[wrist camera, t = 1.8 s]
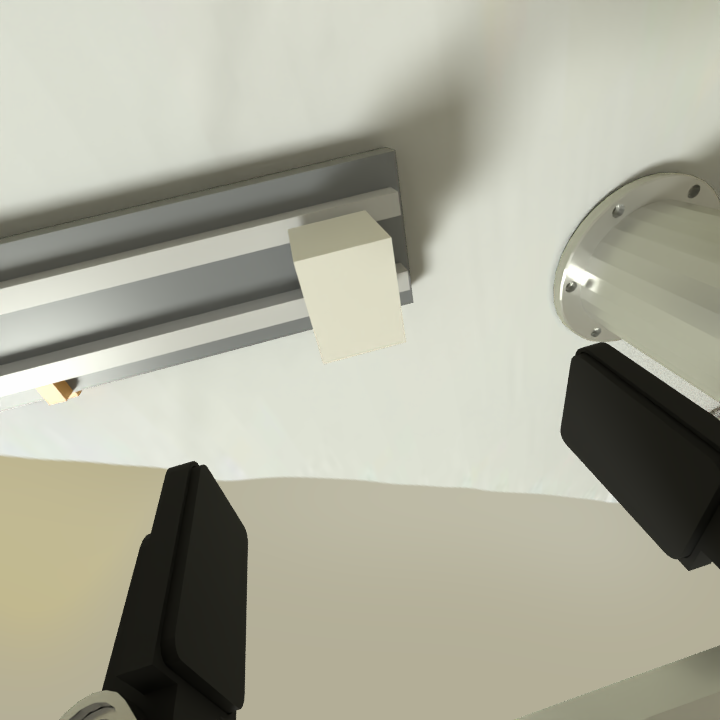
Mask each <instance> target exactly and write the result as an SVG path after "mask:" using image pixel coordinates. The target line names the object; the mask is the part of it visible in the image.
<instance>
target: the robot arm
mask: <svg viewBox="0 0 720 720" xmlns="http://www.w3.org/2000/svg"><path fill="white" fill-rule="evenodd" d="M553 294H554V304H555V308H556V311H557V314H558V316H559V318H560V319H561V321H562V323H563V324H564V325H565V326H567V327H568V328H569V329H570V330H571V331H572V332H574V333H575V334H577V335H578V336H580V337H581V338H584V339H587V340H589V341H596V342H600V343H597V344H593V345H590V346H586V347H583V348H580V349H578V350H577V352H576V355H575V356H573V358H572V360H571V365H570V371H569V378H568V384H567V391H566V397H565V404H564V410H563V417H562V423H561V436H562V439H563V440H564V442H565V443H566V445H567V446H568V447H569V448H570V449H571V450H572V451H573V452H574V453H575V455H576V456H577V457H578V458H579V459H580V460H581V461H582V462H583V463H584V464H585V466H586V467H587V468H588V469H589V470H590V471H591V472H592V473H593V474H594V475H595V477H596V478H597V479H598V480H599V481H600V482H601V483H602V484H603V485H604V486H605V488H606V489H607V490H608V491H609V492H610V493H611V494H612V495H613V496H614V497H615V499H616V500H617V501H618V502H619V503H620V504H621V505H622V506H623V507H624V508H625V510H626V511H627V512H628V513H629V514H630V515H631V516H632V517H633V518H634V519H635V521H636V522H638V524H639V525H640V526H641V527H642V528H643V529H644V530H645V531H646V533H647V534H648V535H649V536H650V537H651V538H652V539H653V540H654V541H655V542H656V544H657V545H658V546H659V547H660V548H661V549H662V550H663V551H664V552H665V553H666V554H667V555H668V556H670V557H671V558H673V559H678V560H679V561H680V562H681V563H682V564H683V565H684V567H685V568H686V569H687V570H688V571H690V570H693V569H696V568H699V567H702V566H705V565H708V564H711V562H713V563H714V564H715V565H716V566H717V567H718V568H719V569H720V420H719V419H717V418H716V417H714V416H713V415H711V414H710V413H709V412H707V411H706V410H704V409H703V408H701V407H700V406H698V405H697V404H695V403H694V402H692V401H691V400H689V399H688V398H687V397H685V396H684V395H682V394H681V393H679V392H678V391H676V390H675V389H673V388H672V387H670V386H669V385H667V384H666V383H665V382H663V381H662V380H660V379H659V378H657V377H656V376H654V375H653V374H651V373H650V372H648V371H647V370H645V369H644V368H643V367H641V366H640V365H638V364H637V363H635V362H634V361H632V360H631V359H629V358H628V357H626V356H625V355H623V354H622V353H621V352H619V351H618V350H616V349H615V348H613V347H612V346H610V345H609V344H607V343H604V342H610V341H617V340H621V339H623V340H624V341H626V342H627V343H629V344H630V345H632V346H633V347H635V348H636V349H638V350H639V351H641V352H642V353H644V354H646V355H647V356H649V357H650V358H652V359H653V360H655V361H656V362H658V363H659V364H661V365H662V366H664V367H665V368H667V369H668V370H670V371H672V372H673V373H675V374H676V375H678V376H679V377H681V378H682V379H684V380H685V381H687V382H688V383H690V384H691V385H693V386H694V387H696V388H698V389H699V390H701V391H702V392H704V393H705V394H707V395H708V396H710V397H711V398H713V399H714V400H716V401H717V402H719V403H720V201H719V198H718V197H717V195H716V193H715V191H714V189H713V188H712V187H711V186H710V185H708V184H707V183H706V182H705V181H704V180H702V179H699V178H697V177H695V176H692V175H686V174H680V173H657V174H653V175H649V176H645V177H642V178H640V179H638V180H635V181H633V182H631V183H629V184H627V185H625V186H623V187H622V188H620V189H619V190H617V191H616V192H614V193H613V194H611V195H610V196H608V197H607V198H606V199H605V200H604V201H603V202H601V203H600V204H599V205H598V206H597V207H596V208H595V209H593V211H592V212H591V213H590V214H589V215H588V216H587V217H586V219H585V220H584V221H583V222H582V223H581V224H580V226H579V227H578V228H577V230H576V231H575V233H574V234H573V236H572V237H571V239H570V240H569V242H568V244H567V246H566V248H565V250H564V252H563V254H562V256H561V258H560V261H559V265H558V268H557V271H556V274H555V280H554V287H553ZM247 557H248V538H247V533H246V530H245V527H244V526H243V524H242V522H241V521H240V519H239V518H238V516H237V514H236V513H235V511H234V509H233V508H232V506H231V505H230V503H229V501H228V500H227V498H226V497H225V495H224V493H223V492H222V490H221V488H220V487H219V485H218V484H217V482H216V480H215V479H214V477H213V475H212V474H211V472H210V471H209V469H208V467H207V466H206V465H200V466H199V465H198V463H197V462H195V461H192V462H189V463H185V464H182V465H178V466H175V467H171V468H169V469H168V470H167V472H166V475H165V480H164V483H163V487H162V491H161V495H160V499H159V503H158V507H157V511H156V515H155V519H154V523H153V527H152V531H151V534H148V535H147V536H146V537H145V538H144V540H143V541H142V544H141V547H140V549H139V553H138V557H137V561H136V564H135V568H134V572H133V576H132V579H131V583H130V587H129V591H128V594H127V598H126V602H125V606H124V609H123V614H122V617H121V621H120V625H119V628H118V632H117V636H116V640H115V643H114V647H113V651H112V655H111V658H110V662H109V666H108V670H107V674H106V677H105V681H104V685H103V689H102V691H101V692H96V693H92V694H91V695H89V696H87V697H85V698H84V699H82V700H80V701H78V702H77V703H76V704H75V705H74V706H73V707H72V708H71V709H69V710H68V711H67V712H66V713H65V714H64V715H63V716H62V717H61V718H60V720H236V710H239V709H241V708H242V706H243V703H244V694H245V651H246V649H245V648H246V605H247V603H246V602H247ZM515 720H720V646H717V647H714V648H712V649H709V650H706V651H703V652H700V653H698V654H695V655H692V656H689V657H687V658H684V659H681V660H678V661H675V662H672V663H670V664H667V665H664V666H661V667H659V668H656V669H653V670H650V671H648V672H645V673H642V674H639V675H636V676H633V677H631V678H628V679H625V680H622V681H620V682H617V683H614V684H611V685H609V686H606V687H603V688H600V689H598V690H595V691H592V692H590V693H587V694H584V695H581V696H578V697H576V698H573V699H570V700H567V701H564V702H562V703H559V704H556V705H553V706H551V707H548V708H545V709H543V710H540V711H537V712H534V713H532V714H529V715H526V716H523V717H521V718H518V719H515Z"/></svg>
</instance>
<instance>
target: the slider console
mask: <svg viewBox="0 0 720 720" xmlns="http://www.w3.org/2000/svg"><path fill="white" fill-rule="evenodd" d="M364 210H366V212H367V213H368V214H369V215H370V216H371V217H372V218H373V219H374V220H375V221H376V222H377V223H378V224H379V225H380V226H381V227H382V228H383V229H384V230H385V231H386V232H387V233H388V234H389V236H390V237H391V238H392V245H393V252H394V260H395V267H396V274H397V281H398V288H399V295H400V303H401V306H402V305H406V304H410V303H413V296H412V288H411V279H410V271H409V262H408V254H407V246H406V237H405V229H404V220H403V212H402V204H401V195H400V187H399V179H398V170H397V162H396V153H395V150H392V149H389V148H386V147H384V148H380V149H376V150H372V151H368V152H363V153H359V154H355V155H351V156H346V157H342V158H338V159H334V160H330V161H325V162H321V163H317V164H313V165H309V166H304V167H300V168H296V169H292V170H287V171H283V172H279V173H275V174H271V175H266V176H262V177H258V178H254V179H250V180H245V181H241V182H237V183H233V184H228V185H224V186H220V187H216V188H212V189H207V190H203V191H199V192H195V193H191V194H186V195H182V196H178V197H174V198H169V199H165V200H161V201H157V202H153V203H148V204H144V205H140V206H136V207H132V208H127V209H123V210H119V211H115V212H110V213H106V214H102V215H98V216H94V217H89V218H85V219H81V220H77V221H73V222H68V223H64V224H60V225H56V226H51V227H47V228H43V229H39V230H35V231H30V232H26V233H22V234H18V235H14V236H9V237H5V238H1V239H0V412H1V411H5V410H9V409H12V408H16V407H20V406H24V405H27V404H31V403H35V402H39V401H43V400H45V401H46V402H47V403H48V404H49V405H53V404H57V403H60V402H64V401H67V399H69V398H73V397H77V396H79V395H80V393H81V392H82V390H84V389H88V388H92V387H96V386H99V385H103V384H107V383H111V382H114V381H118V380H122V379H126V378H130V377H133V376H137V375H141V374H145V373H149V372H152V371H156V370H160V369H164V368H167V367H171V366H175V365H179V364H183V363H186V362H190V361H194V360H198V359H202V358H205V357H209V356H213V355H217V354H220V353H224V352H228V351H232V350H236V349H239V348H243V347H247V346H251V345H254V344H258V343H262V342H266V341H270V340H273V339H277V338H281V337H285V336H289V335H292V334H296V333H300V332H304V331H307V330H311V329H313V327H312V324H311V320H310V317H309V314H308V310H307V307H306V303H305V300H304V297H303V293H302V290H301V286H300V283H299V280H298V276H297V273H296V269H295V266H294V262H293V257H292V251H291V246H290V240H289V235H288V229H291V228H295V227H299V226H303V225H307V224H311V223H315V222H319V221H323V220H327V219H331V218H335V217H339V216H343V215H347V214H351V213H356V212H360V211H364Z"/></svg>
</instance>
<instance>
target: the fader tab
mask: <svg viewBox="0 0 720 720" xmlns="http://www.w3.org/2000/svg"><path fill="white" fill-rule="evenodd" d="M288 235H289V240H290V246H291V251H292V257H293V262H294V266H295V269H296V273H297V276H298V280H299V283H300V286H301V290H302V293H303V297H304V300H305V303H306V307H307V310H308V314H309V317H310V320H311V324H312V327H313V331H314V334H315V338H316V341H317V344H318V348H319V351H320V355H321V358H322V361H323V364H327V363H331V362H334V361H338V360H342V359H345V358H349V357H353V356H356V355H360V354H364V353H367V352H371V351H375V350H379V349H382V348H386V347H390V346H393V345H397V344H401V343H404V342H406V338H405V331H404V324H403V317H402V310H401V303H400V295H399V288H398V281H397V274H396V267H395V260H394V252H393V245H392V238H391V237H390V236H389V234H388V233H387V232H386V231H385V230H384V229H383V228H382V227H381V226H380V225H379V224H378V223H377V222H376V221H375V220H374V219H373V218H372V217H371V216H370V215H369V214H368V213H367V212H366V210H364V211H360V212H356V213H351V214H347V215H343V216H339V217H335V218H331V219H327V220H323V221H319V222H315V223H311V224H307V225H303V226H299V227H295V228H291V229H288Z"/></svg>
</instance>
